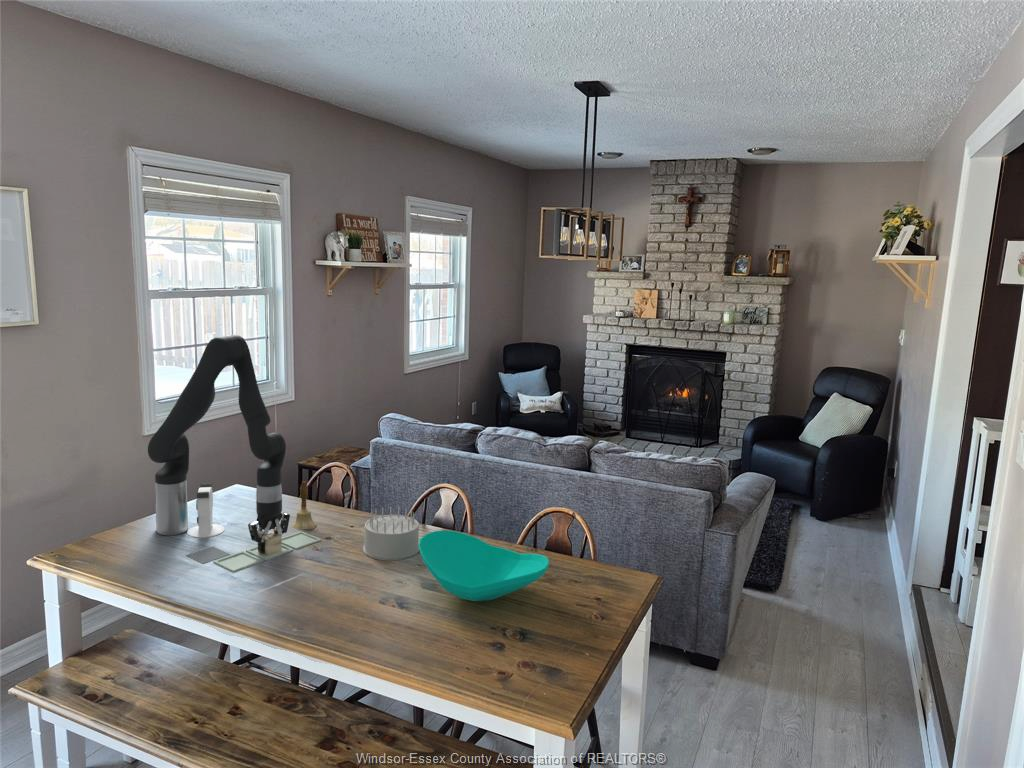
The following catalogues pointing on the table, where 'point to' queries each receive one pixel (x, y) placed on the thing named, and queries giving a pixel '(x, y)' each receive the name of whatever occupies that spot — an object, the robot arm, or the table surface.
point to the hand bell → (304, 512)
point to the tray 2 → (266, 557)
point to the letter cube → (272, 543)
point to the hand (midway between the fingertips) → (269, 549)
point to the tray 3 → (299, 540)
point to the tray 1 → (238, 561)
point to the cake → (391, 536)
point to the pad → (208, 555)
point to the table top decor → (478, 566)
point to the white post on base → (205, 514)
